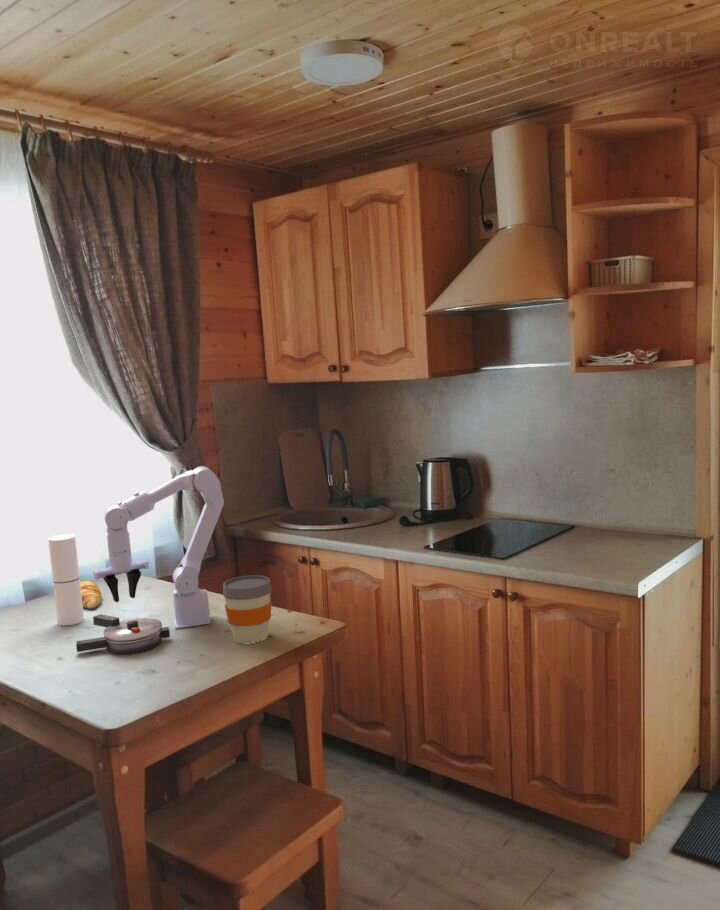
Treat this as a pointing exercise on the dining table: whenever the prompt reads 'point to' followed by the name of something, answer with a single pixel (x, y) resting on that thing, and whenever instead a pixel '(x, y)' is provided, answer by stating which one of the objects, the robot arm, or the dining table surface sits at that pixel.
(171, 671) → the dining table surface
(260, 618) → the reusable coffee cup
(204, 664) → the dining table surface
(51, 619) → the dining table surface
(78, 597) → the cylindrical container
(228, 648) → the dining table surface
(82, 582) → the croissant
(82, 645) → the pot
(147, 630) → the pressure cooker lid
